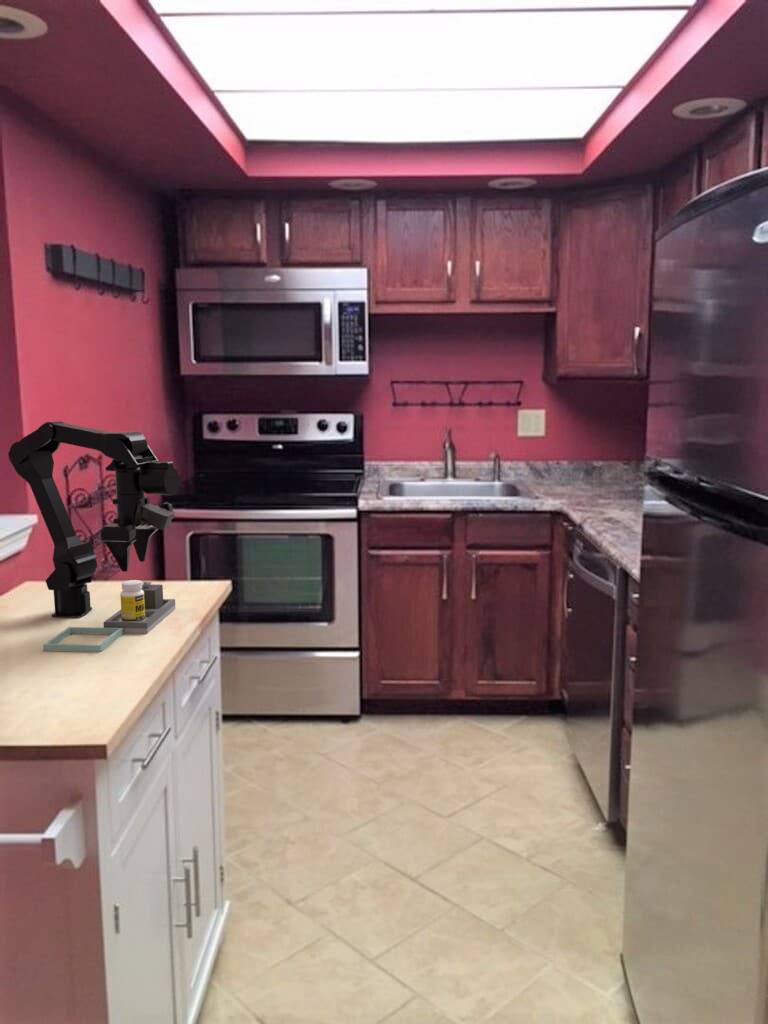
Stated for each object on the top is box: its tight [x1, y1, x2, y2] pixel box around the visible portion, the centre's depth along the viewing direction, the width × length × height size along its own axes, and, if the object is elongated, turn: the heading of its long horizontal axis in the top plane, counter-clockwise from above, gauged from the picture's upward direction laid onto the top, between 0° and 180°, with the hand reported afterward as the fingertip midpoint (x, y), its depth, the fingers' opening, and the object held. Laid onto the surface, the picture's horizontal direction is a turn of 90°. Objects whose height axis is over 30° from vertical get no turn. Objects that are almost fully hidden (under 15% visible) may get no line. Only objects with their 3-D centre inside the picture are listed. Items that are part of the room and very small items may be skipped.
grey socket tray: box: [103, 598, 177, 634], centre depth 179 cm, size 9×18×2 cm, turn 176°
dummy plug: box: [141, 580, 164, 609], centre depth 183 cm, size 5×5×6 cm
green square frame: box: [42, 626, 124, 653], centre depth 164 cm, size 11×11×1 cm
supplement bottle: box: [120, 579, 145, 621], centre depth 174 cm, size 5×5×8 cm
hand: (133, 566), depth 177 cm, fingers open, 9 cm apart
